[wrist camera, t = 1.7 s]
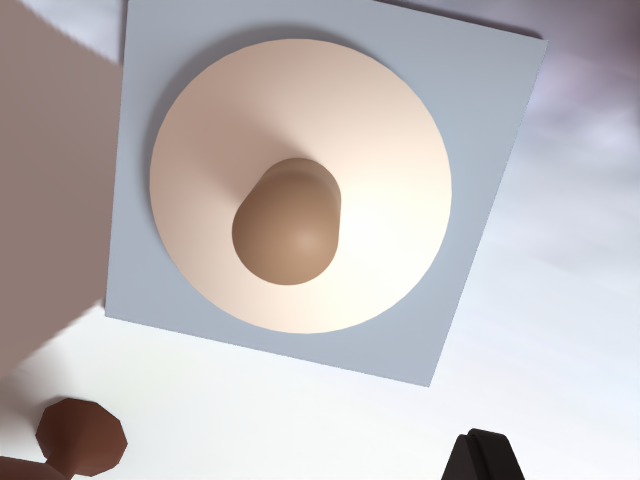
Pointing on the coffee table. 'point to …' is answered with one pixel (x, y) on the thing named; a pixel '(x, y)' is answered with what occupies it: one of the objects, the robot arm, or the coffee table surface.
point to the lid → (300, 186)
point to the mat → (392, 52)
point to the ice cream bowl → (71, 443)
